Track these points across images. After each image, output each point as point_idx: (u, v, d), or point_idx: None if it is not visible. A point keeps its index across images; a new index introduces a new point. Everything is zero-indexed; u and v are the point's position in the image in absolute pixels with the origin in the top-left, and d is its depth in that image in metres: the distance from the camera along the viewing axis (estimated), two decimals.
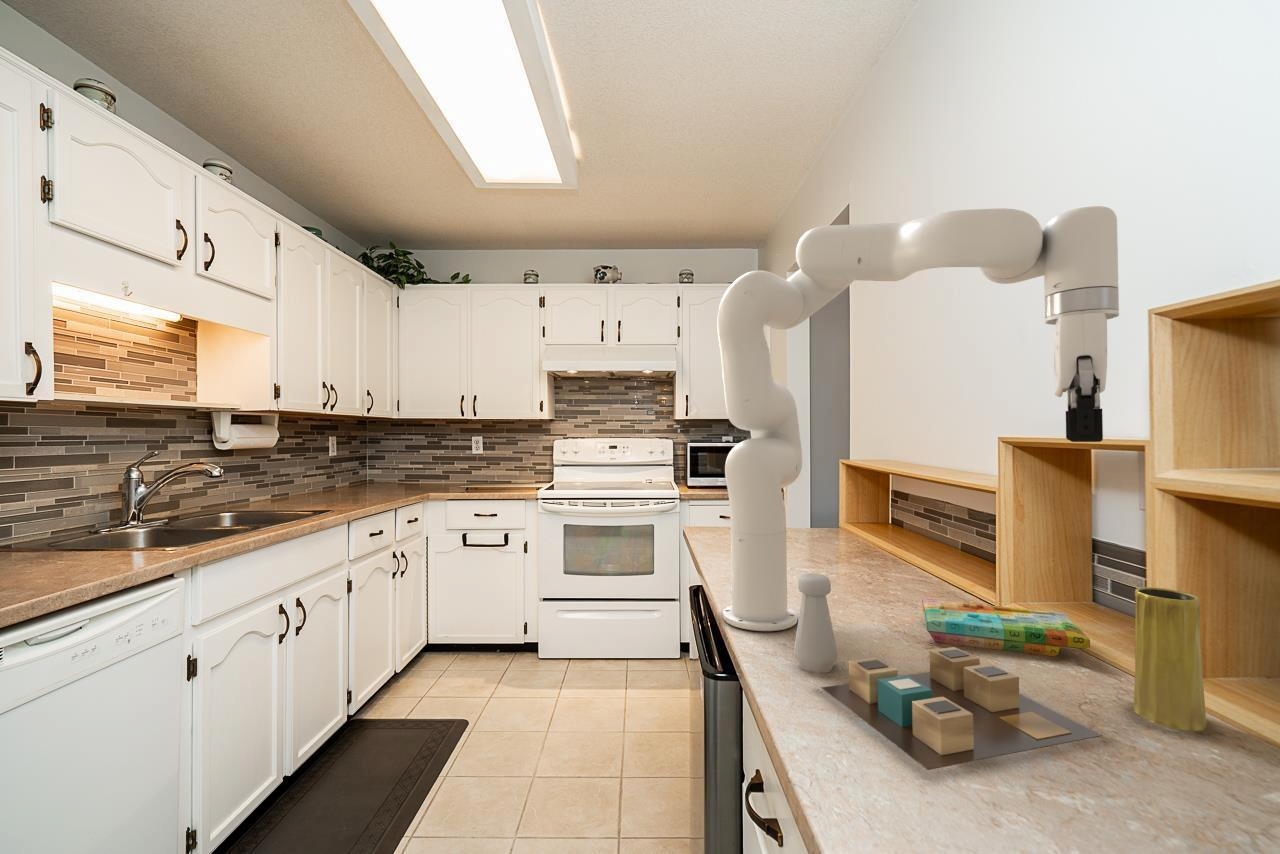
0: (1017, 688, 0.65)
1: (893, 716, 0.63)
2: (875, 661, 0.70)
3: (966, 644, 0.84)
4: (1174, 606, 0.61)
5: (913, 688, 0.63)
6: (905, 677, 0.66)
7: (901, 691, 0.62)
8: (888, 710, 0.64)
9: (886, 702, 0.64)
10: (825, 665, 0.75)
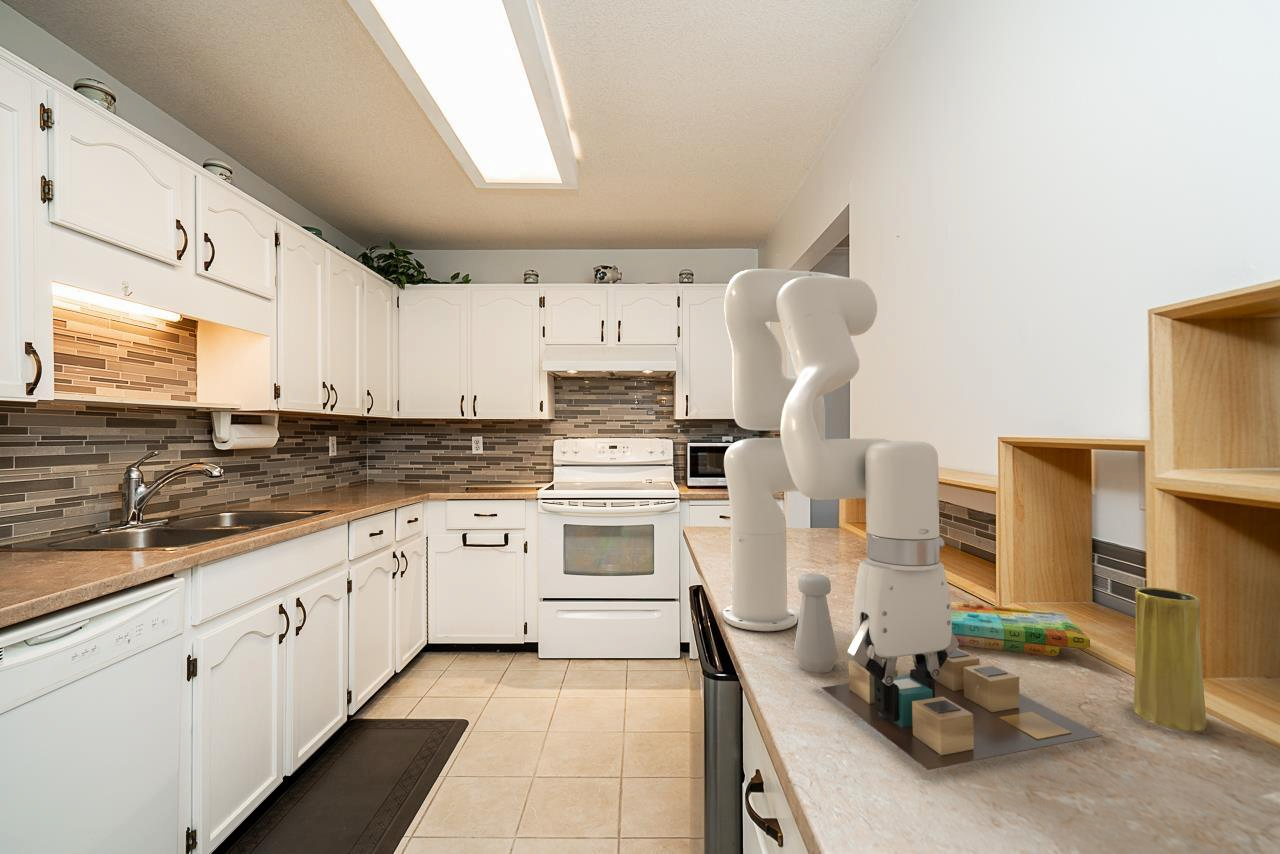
0: (1017, 688, 0.65)
1: None
2: None
3: (966, 644, 0.84)
4: (1174, 606, 0.61)
5: (913, 688, 0.63)
6: (905, 677, 0.66)
7: (901, 691, 0.62)
8: None
9: None
10: (825, 665, 0.75)
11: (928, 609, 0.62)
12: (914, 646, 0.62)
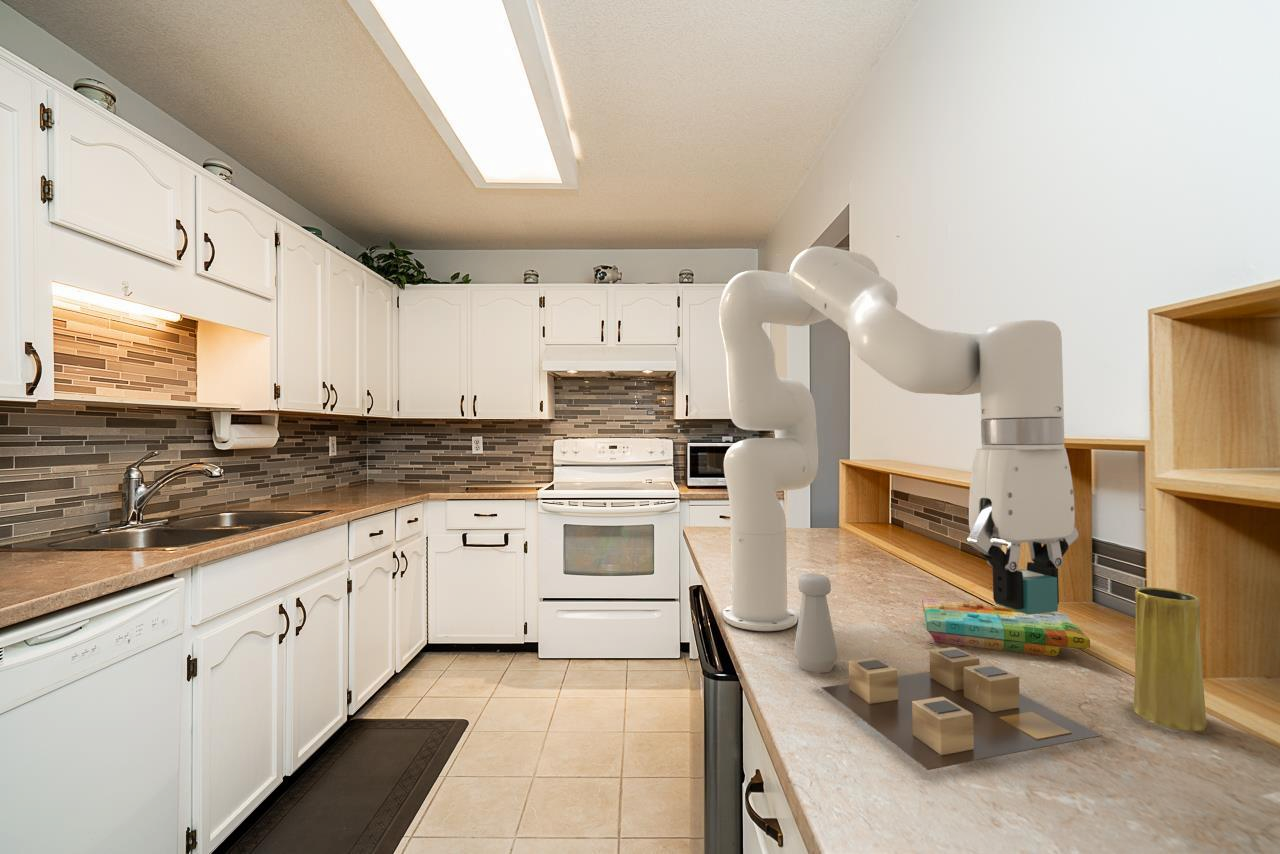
0: (1017, 688, 0.65)
1: None
2: (875, 661, 0.70)
3: (966, 644, 0.84)
4: (1174, 606, 0.61)
5: (1036, 576, 0.61)
6: (1022, 570, 0.63)
7: (1025, 578, 0.60)
8: None
9: None
10: (825, 665, 0.75)
11: (1053, 492, 0.60)
12: (1039, 530, 0.60)
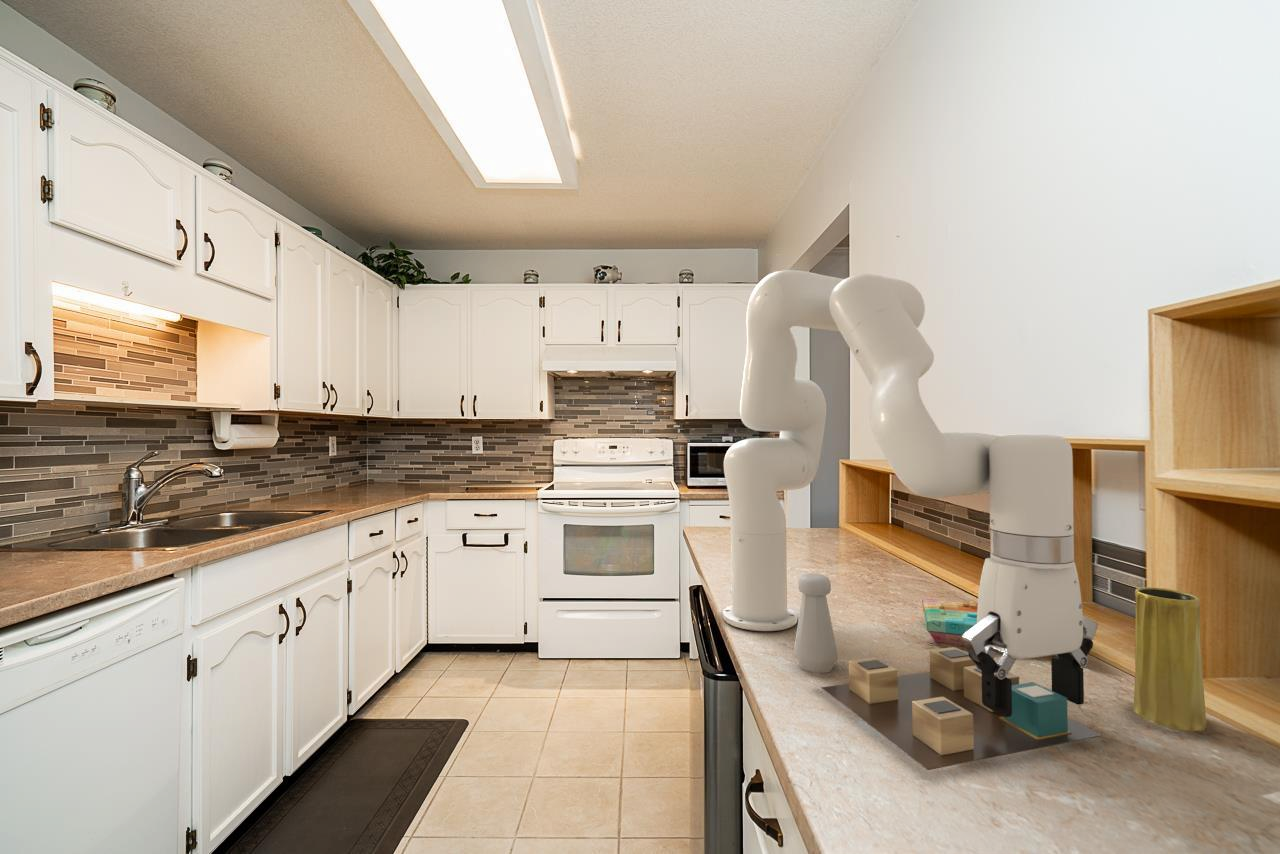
0: None
1: (1026, 725, 0.60)
2: (875, 661, 0.70)
3: None
4: (1174, 606, 0.61)
5: (1046, 696, 0.60)
6: (1032, 684, 0.63)
7: (1035, 699, 0.60)
8: (1019, 719, 0.61)
9: (1016, 711, 0.61)
10: (825, 665, 0.75)
11: (1062, 609, 0.60)
12: (1047, 647, 0.59)
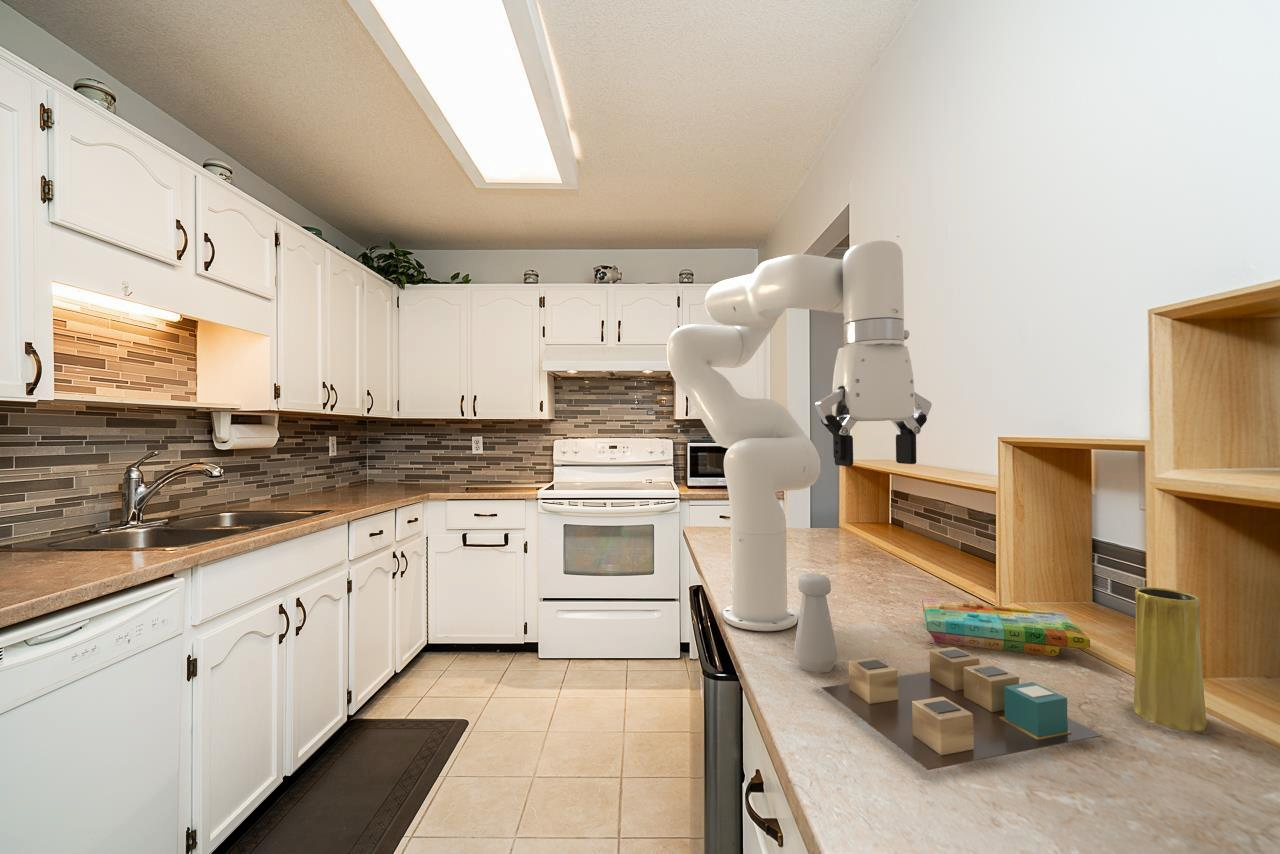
0: None
1: (1026, 725, 0.60)
2: (875, 661, 0.70)
3: (966, 644, 0.84)
4: (1174, 606, 0.61)
5: (1046, 696, 0.60)
6: (1032, 684, 0.63)
7: (1035, 699, 0.60)
8: (1019, 719, 0.61)
9: (1016, 711, 0.61)
10: (825, 665, 0.75)
11: (894, 380, 0.74)
12: (882, 411, 0.74)
